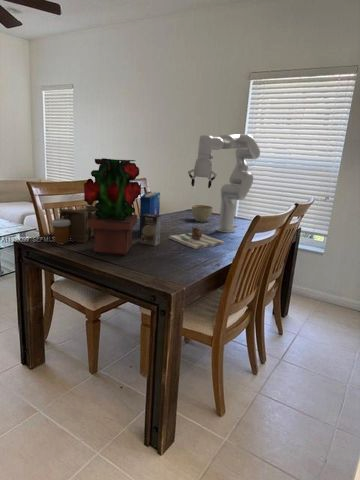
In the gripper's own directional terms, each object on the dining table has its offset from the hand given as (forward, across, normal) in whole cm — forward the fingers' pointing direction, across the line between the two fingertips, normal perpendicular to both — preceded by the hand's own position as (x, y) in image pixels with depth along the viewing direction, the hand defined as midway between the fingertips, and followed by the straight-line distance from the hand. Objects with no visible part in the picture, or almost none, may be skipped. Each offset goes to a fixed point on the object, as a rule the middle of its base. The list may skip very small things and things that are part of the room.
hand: (200, 187), depth 196 cm
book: (+32, +29, +3) cm, 43 cm away
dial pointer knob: (+29, +1, +7) cm, 30 cm away
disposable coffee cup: (+34, +64, +45) cm, 85 cm away
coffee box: (+32, +21, +25) cm, 46 cm away
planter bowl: (+29, +6, -54) cm, 61 cm away
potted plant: (+34, +33, +48) cm, 67 cm away
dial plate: (+31, -2, +9) cm, 32 cm away
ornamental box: (+33, +59, +22) cm, 72 cm away
